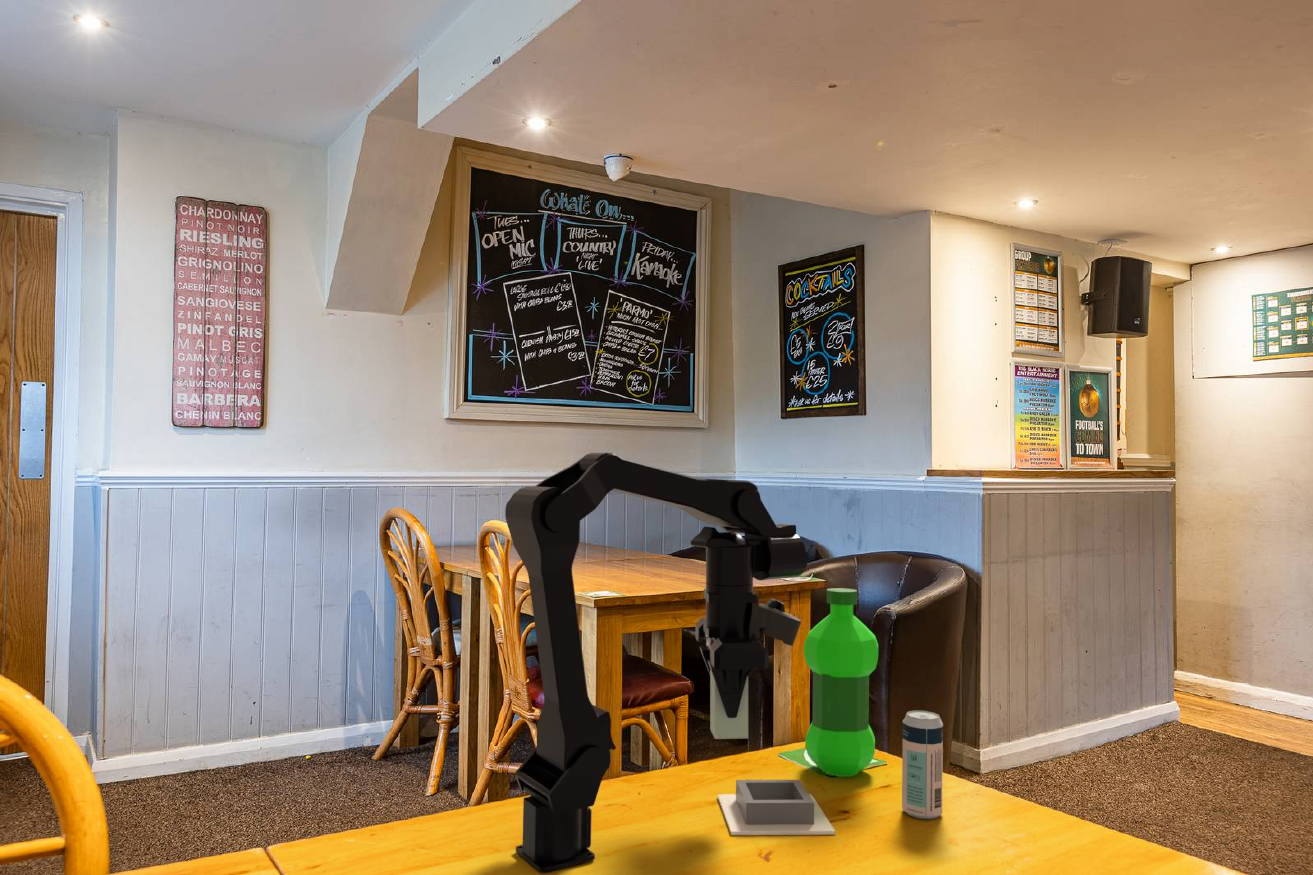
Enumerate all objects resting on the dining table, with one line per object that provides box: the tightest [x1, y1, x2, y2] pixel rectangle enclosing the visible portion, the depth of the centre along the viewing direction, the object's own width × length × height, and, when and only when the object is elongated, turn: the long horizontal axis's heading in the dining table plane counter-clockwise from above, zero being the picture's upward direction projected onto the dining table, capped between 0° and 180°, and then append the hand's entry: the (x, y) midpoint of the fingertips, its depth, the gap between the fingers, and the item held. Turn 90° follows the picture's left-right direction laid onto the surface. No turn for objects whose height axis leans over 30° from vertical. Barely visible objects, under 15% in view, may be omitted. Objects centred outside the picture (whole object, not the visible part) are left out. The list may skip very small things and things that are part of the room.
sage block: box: [709, 669, 749, 740], centre depth 112 cm, size 4×4×8 cm
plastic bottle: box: [803, 587, 879, 778], centre depth 130 cm, size 10×10×25 cm
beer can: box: [901, 710, 944, 820], centre depth 114 cm, size 5×5×12 cm
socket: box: [717, 779, 836, 836], centre depth 112 cm, size 12×12×3 cm
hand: (729, 712), depth 112 cm, fingers closed on sage block, 4 cm apart
